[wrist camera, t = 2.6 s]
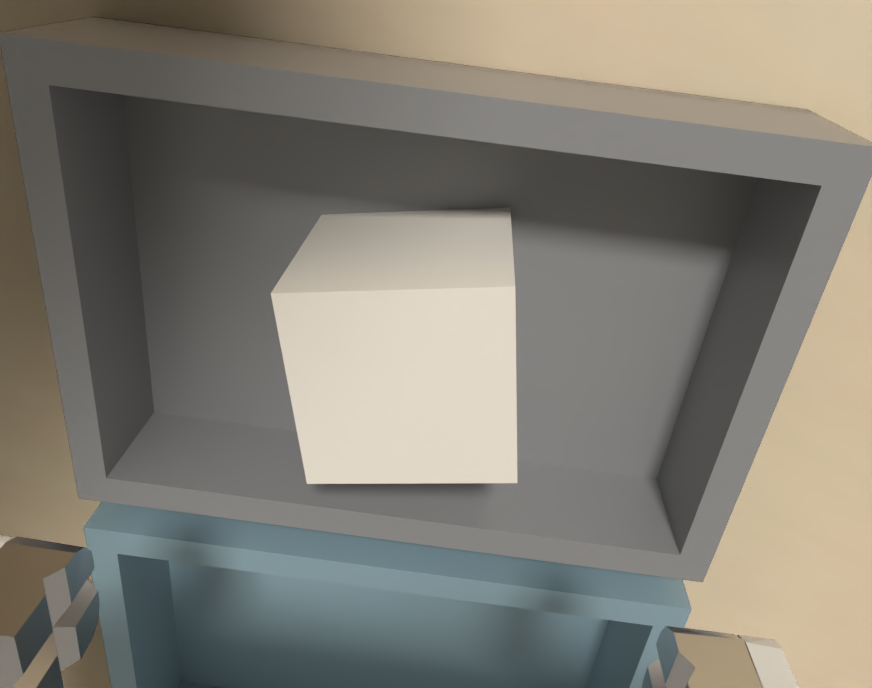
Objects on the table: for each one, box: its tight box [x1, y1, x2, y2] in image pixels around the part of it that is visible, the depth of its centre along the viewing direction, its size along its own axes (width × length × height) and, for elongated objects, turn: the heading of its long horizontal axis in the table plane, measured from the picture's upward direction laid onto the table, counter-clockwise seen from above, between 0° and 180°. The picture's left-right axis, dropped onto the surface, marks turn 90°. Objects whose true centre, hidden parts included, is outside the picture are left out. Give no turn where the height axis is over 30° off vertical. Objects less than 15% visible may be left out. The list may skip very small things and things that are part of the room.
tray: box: [0, 17, 872, 582], centre depth 17 cm, size 11×16×4 cm
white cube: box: [271, 207, 517, 484], centre depth 16 cm, size 4×4×4 cm
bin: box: [84, 502, 691, 688], centre depth 23 cm, size 11×16×4 cm
